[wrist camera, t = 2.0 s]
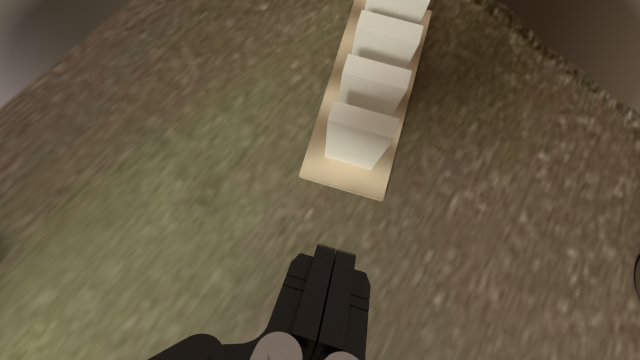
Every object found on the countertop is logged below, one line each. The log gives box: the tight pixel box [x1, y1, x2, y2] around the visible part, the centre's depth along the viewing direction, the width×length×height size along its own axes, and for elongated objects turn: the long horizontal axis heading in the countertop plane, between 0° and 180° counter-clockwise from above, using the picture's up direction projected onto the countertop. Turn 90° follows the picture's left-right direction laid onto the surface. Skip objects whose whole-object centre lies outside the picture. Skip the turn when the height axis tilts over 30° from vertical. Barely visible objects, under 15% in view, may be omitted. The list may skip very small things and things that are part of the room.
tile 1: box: [325, 101, 399, 170], centre depth 27 cm, size 2×5×10 cm, turn 74°
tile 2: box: [338, 54, 412, 116], centre depth 28 cm, size 2×5×10 cm, turn 74°
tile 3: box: [352, 10, 424, 69], centre depth 29 cm, size 2×5×10 cm, turn 73°
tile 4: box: [365, 0, 430, 24], centre depth 29 cm, size 2×5×10 cm, turn 73°
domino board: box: [299, 0, 432, 201], centre depth 34 cm, size 23×9×1 cm, turn 163°
